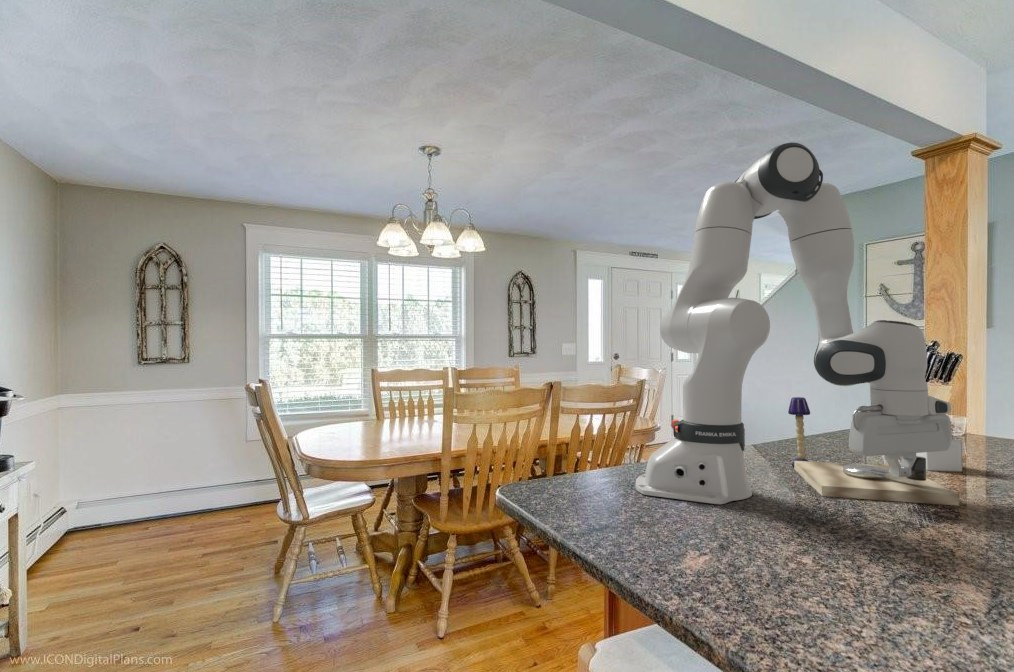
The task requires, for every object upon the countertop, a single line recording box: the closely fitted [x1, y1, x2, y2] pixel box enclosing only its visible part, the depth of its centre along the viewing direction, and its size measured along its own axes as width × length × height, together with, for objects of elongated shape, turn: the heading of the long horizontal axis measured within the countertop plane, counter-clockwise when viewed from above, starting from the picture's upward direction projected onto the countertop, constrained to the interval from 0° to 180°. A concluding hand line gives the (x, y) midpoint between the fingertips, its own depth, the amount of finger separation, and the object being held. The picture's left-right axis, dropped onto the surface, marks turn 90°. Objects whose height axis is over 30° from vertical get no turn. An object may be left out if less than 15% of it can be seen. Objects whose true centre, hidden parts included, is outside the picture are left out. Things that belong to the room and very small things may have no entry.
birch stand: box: [793, 460, 960, 507], centre depth 106 cm, size 22×22×2 cm
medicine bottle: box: [916, 438, 963, 473], centre depth 120 cm, size 7×7×12 cm
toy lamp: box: [787, 396, 811, 467], centre depth 122 cm, size 5×5×17 cm
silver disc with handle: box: [843, 456, 927, 484], centre depth 103 cm, size 14×8×5 cm, turn 28°
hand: (900, 476), depth 97 cm, fingers closed
